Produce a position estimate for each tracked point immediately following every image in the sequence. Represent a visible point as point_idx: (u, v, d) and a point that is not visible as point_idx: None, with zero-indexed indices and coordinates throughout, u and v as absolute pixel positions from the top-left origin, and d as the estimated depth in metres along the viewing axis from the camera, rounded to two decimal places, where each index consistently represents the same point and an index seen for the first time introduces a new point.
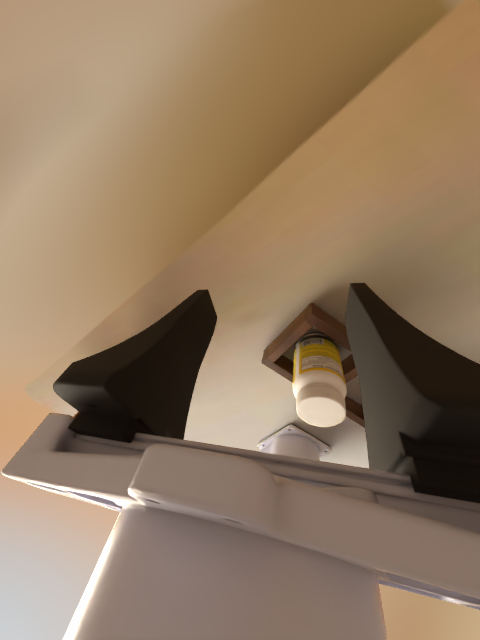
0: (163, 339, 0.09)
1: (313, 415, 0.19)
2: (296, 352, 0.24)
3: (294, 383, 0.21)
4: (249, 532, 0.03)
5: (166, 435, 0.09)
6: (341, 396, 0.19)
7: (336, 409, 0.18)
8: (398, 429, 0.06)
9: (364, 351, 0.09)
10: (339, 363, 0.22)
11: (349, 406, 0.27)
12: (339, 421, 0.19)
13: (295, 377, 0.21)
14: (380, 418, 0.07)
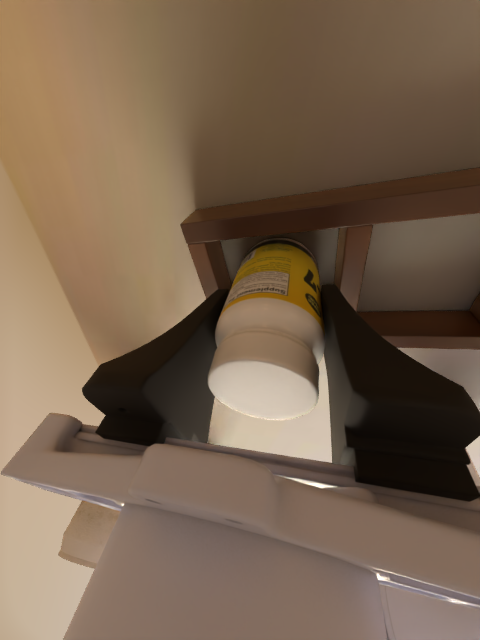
0: (191, 339, 0.08)
1: (259, 404, 0.09)
2: None
3: None
4: (249, 532, 0.03)
5: (192, 439, 0.09)
6: (272, 338, 0.07)
7: (272, 374, 0.07)
8: (344, 423, 0.06)
9: (329, 350, 0.09)
10: (283, 270, 0.10)
11: (420, 327, 0.13)
12: (311, 394, 0.07)
13: None
14: (336, 414, 0.07)
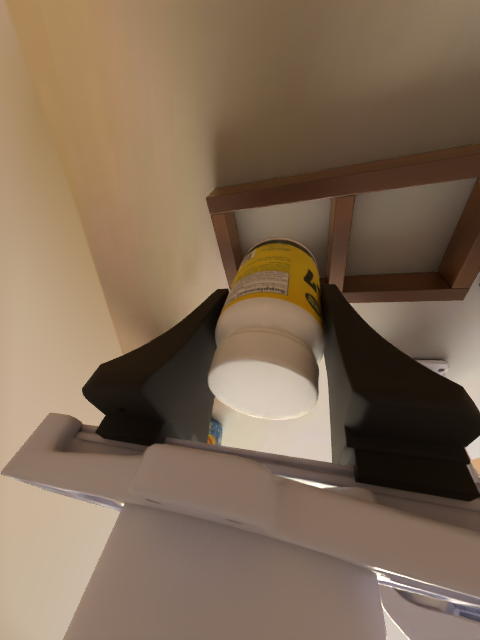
0: (190, 339, 0.08)
1: (259, 403, 0.09)
2: None
3: None
4: (249, 532, 0.03)
5: (192, 439, 0.09)
6: (272, 337, 0.07)
7: (271, 374, 0.07)
8: (344, 423, 0.06)
9: (329, 350, 0.09)
10: (283, 269, 0.10)
11: (398, 284, 0.16)
12: (310, 393, 0.07)
13: None
14: (336, 414, 0.07)
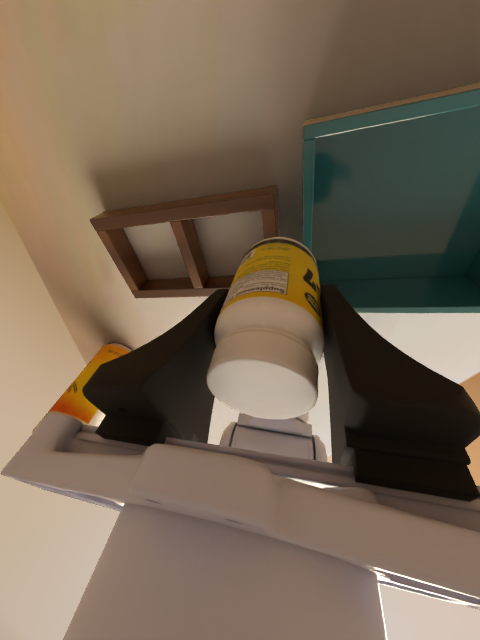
0: (190, 339, 0.08)
1: (258, 403, 0.09)
2: None
3: None
4: (249, 532, 0.03)
5: (192, 439, 0.09)
6: (271, 337, 0.07)
7: (271, 373, 0.07)
8: (344, 423, 0.06)
9: (329, 350, 0.09)
10: (282, 269, 0.10)
11: None
12: (310, 393, 0.07)
13: None
14: (336, 414, 0.07)
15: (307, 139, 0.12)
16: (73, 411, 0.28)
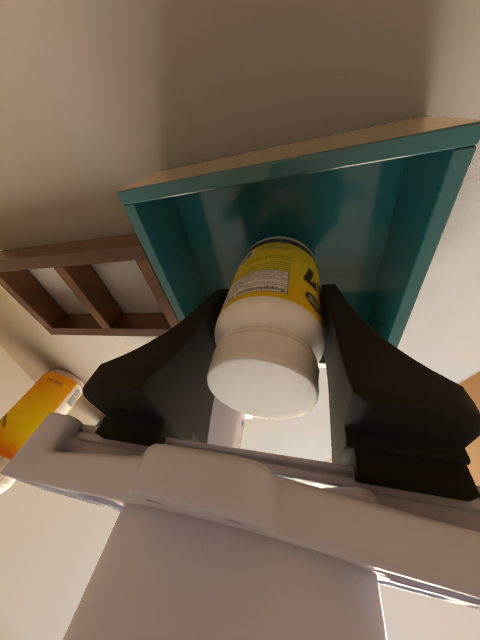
0: (190, 339, 0.08)
1: (258, 403, 0.09)
2: None
3: None
4: (249, 532, 0.03)
5: (192, 439, 0.09)
6: (272, 336, 0.07)
7: (271, 373, 0.07)
8: (344, 423, 0.06)
9: (329, 350, 0.09)
10: (283, 268, 0.10)
11: (147, 323, 0.21)
12: (310, 392, 0.07)
13: None
14: (336, 414, 0.07)
15: (125, 204, 0.10)
16: None
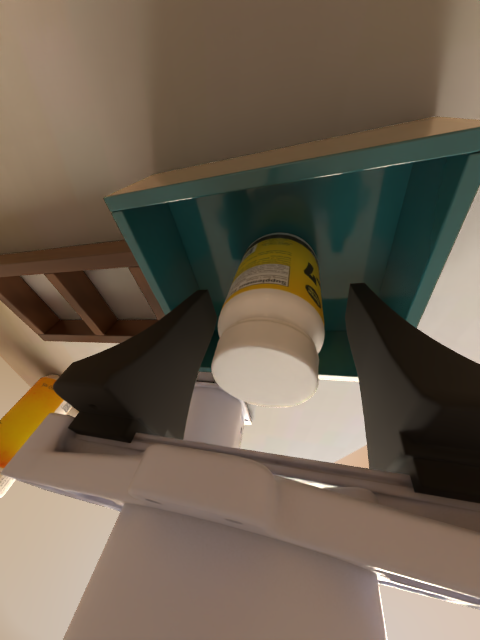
0: (163, 339, 0.09)
1: (260, 391, 0.09)
2: None
3: None
4: (249, 532, 0.03)
5: (166, 435, 0.09)
6: (274, 326, 0.08)
7: (273, 360, 0.07)
8: (398, 429, 0.06)
9: (364, 351, 0.09)
10: (284, 262, 0.10)
11: (142, 330, 0.20)
12: (311, 379, 0.08)
13: None
14: (380, 418, 0.07)
15: (113, 211, 0.10)
16: None
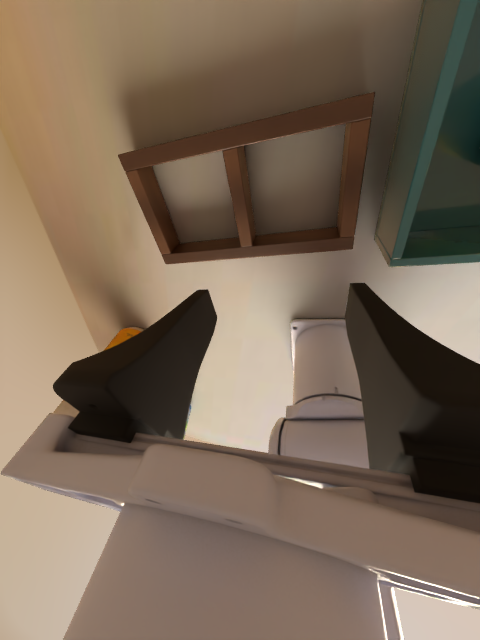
0: (163, 339, 0.09)
1: None
2: None
3: None
4: (249, 532, 0.03)
5: (166, 435, 0.09)
6: None
7: None
8: (398, 429, 0.06)
9: (364, 351, 0.09)
10: None
11: (299, 237, 0.18)
12: None
13: None
14: (380, 418, 0.07)
15: None
16: None
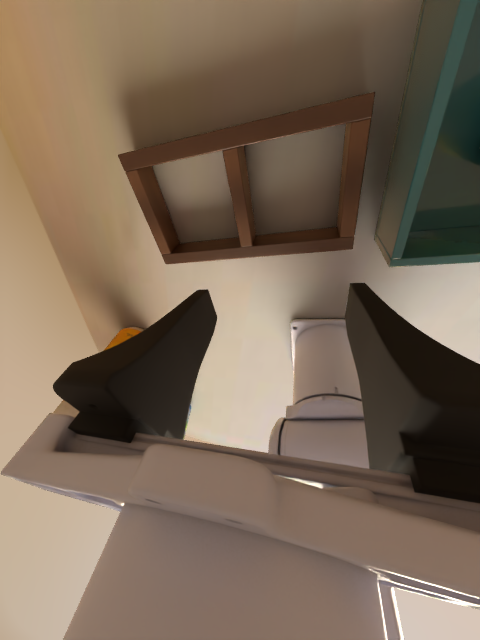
0: (163, 339, 0.09)
1: None
2: None
3: None
4: (249, 532, 0.03)
5: (166, 435, 0.09)
6: None
7: None
8: (398, 429, 0.06)
9: (364, 351, 0.09)
10: None
11: (299, 237, 0.18)
12: None
13: None
14: (380, 418, 0.07)
15: None
16: None
